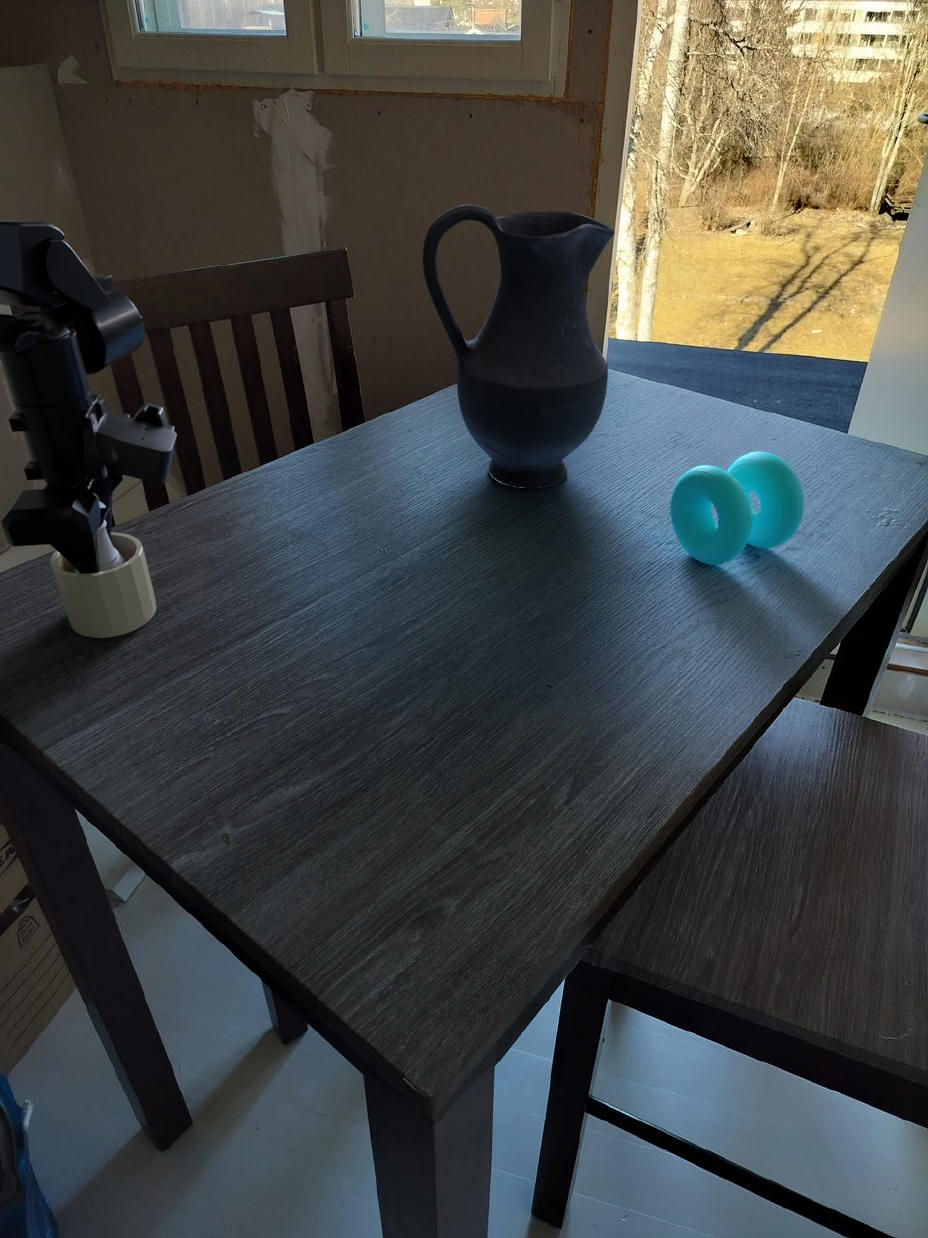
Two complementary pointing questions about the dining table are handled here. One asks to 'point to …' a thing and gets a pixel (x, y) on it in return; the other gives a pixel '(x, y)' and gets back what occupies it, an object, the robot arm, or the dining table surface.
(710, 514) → the donuts
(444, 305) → the pitcher
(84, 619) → the cup
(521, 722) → the dining table surface
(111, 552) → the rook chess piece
